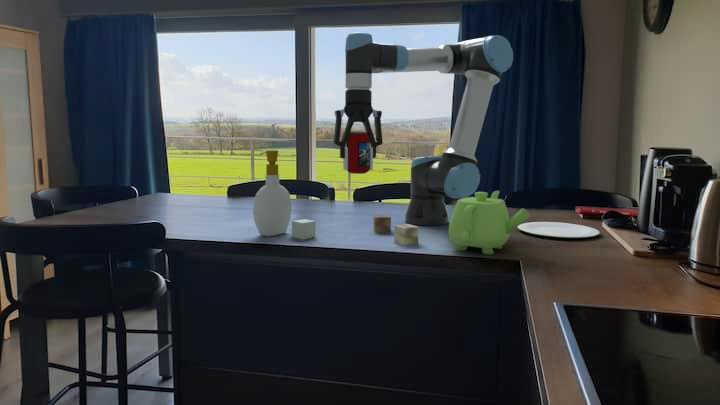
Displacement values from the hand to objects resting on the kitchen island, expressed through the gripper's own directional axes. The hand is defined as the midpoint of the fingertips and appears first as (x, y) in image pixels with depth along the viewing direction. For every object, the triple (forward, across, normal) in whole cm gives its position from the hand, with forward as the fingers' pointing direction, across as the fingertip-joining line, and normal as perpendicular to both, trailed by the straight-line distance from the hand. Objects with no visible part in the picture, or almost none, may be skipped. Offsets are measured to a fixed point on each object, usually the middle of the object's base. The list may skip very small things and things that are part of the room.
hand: (357, 169), depth 157 cm
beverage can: (+1, 0, 0) cm, 1 cm away
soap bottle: (+21, +24, -13) cm, 35 cm away
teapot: (+21, -34, +19) cm, 44 cm away
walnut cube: (+21, -11, -11) cm, 26 cm away
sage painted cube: (+21, +15, -7) cm, 27 cm away
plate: (+22, -66, +3) cm, 69 cm away
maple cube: (+21, -13, +7) cm, 26 cm away
